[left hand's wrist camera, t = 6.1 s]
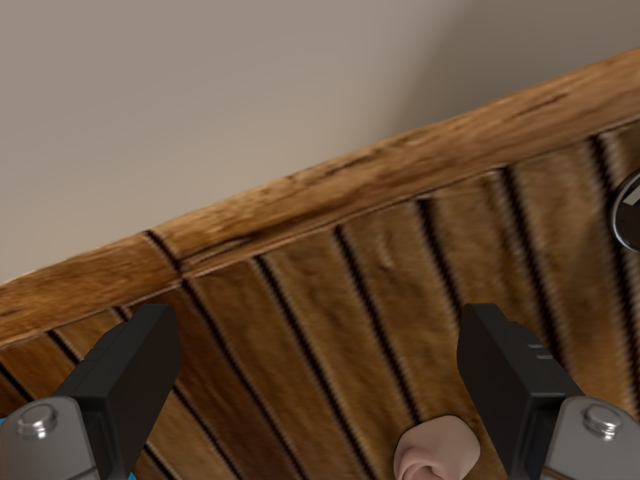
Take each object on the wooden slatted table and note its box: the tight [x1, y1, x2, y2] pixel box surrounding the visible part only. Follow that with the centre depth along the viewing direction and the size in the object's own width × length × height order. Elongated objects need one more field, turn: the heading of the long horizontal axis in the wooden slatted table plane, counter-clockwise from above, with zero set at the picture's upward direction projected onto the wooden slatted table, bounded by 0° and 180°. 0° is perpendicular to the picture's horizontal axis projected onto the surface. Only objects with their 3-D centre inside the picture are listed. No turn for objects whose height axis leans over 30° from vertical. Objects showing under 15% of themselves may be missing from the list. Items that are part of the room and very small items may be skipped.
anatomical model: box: [394, 416, 480, 480], centre depth 51 cm, size 13×4×12 cm
